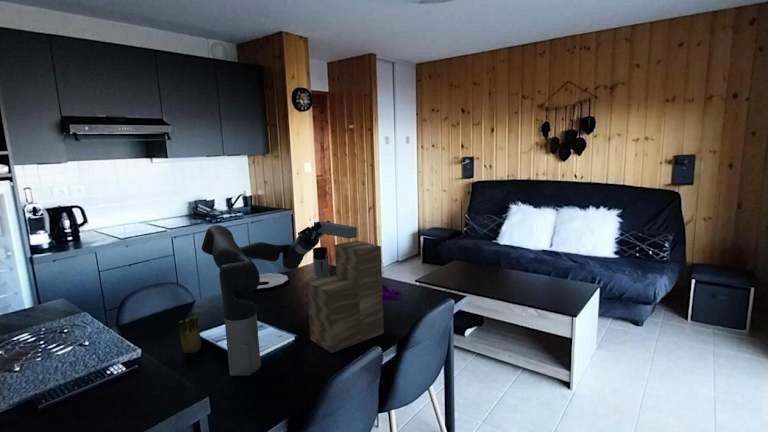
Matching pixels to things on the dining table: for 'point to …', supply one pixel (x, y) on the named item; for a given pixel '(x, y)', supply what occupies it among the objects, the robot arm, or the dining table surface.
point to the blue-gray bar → (337, 230)
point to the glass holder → (321, 262)
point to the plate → (271, 280)
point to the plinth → (348, 298)
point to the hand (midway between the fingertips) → (324, 223)
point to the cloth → (389, 294)
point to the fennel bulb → (190, 335)
